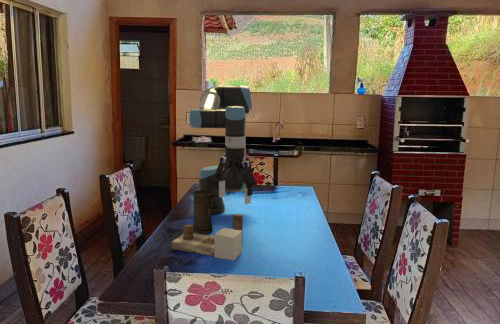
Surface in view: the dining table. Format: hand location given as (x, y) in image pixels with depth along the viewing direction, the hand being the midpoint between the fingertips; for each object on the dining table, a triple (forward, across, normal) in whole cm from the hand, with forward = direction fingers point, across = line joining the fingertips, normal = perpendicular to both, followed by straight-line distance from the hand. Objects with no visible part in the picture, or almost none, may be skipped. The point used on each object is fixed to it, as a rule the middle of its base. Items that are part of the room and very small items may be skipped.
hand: (234, 200), depth 154 cm
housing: (+20, +4, -7) cm, 21 cm away
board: (+20, -10, -9) cm, 24 cm away
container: (+20, -23, +4) cm, 31 cm away
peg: (+20, -1, +4) cm, 20 cm away
